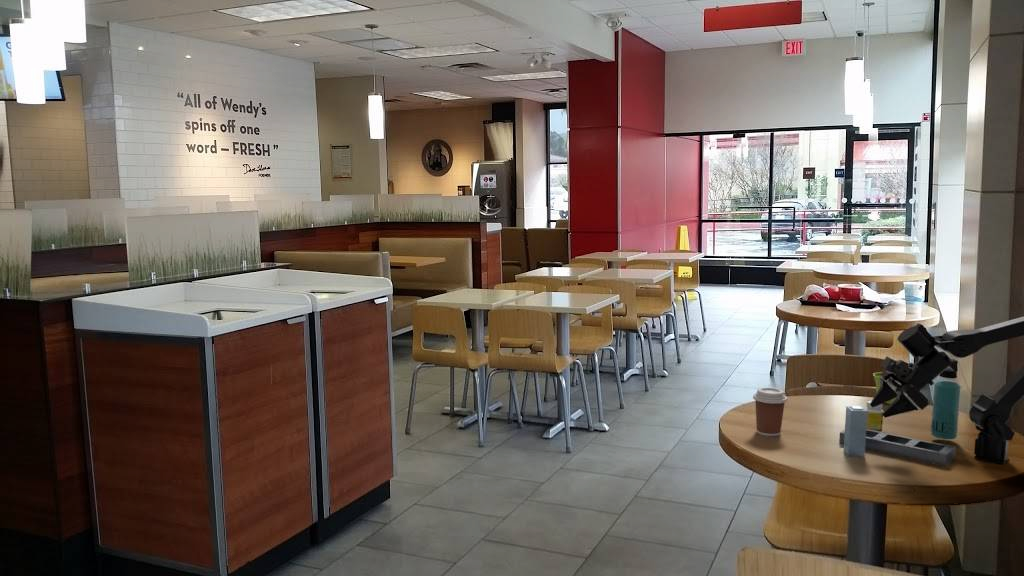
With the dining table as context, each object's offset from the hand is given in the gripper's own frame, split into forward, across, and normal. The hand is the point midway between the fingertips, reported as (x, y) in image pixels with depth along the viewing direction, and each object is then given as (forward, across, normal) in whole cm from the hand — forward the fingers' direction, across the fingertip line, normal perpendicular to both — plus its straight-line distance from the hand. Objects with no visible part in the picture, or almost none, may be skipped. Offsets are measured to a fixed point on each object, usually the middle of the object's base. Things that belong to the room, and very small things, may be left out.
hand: (877, 410), depth 208 cm
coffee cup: (+25, -16, -8) cm, 30 cm away
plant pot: (-7, -52, +23) cm, 58 cm away
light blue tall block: (+12, 0, +5) cm, 13 cm away
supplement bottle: (+4, -20, +13) cm, 24 cm away
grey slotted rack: (+3, -4, +13) cm, 14 cm away
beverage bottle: (-8, -13, +24) cm, 28 cm away
